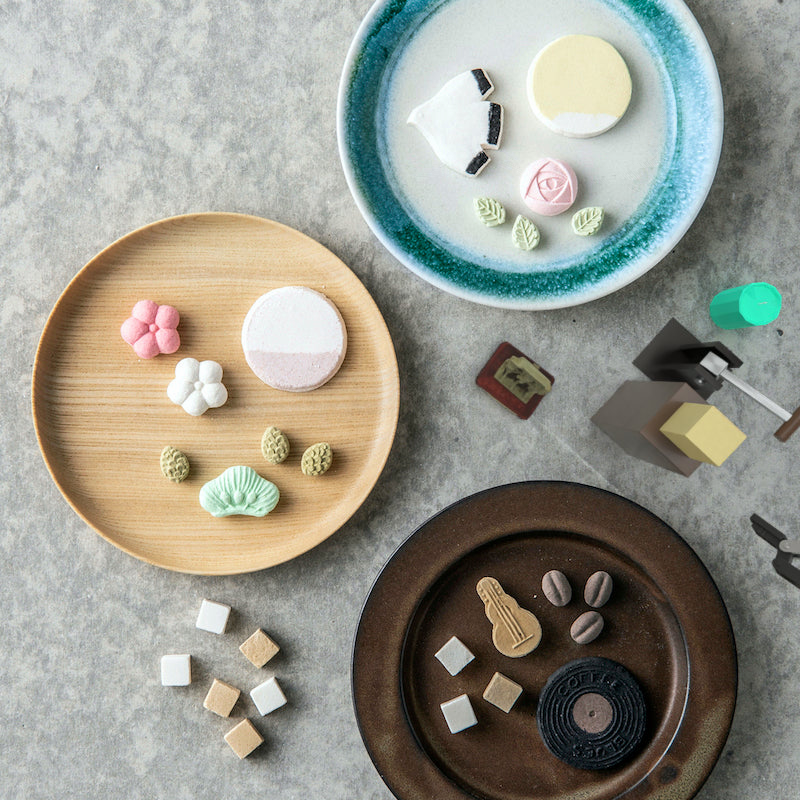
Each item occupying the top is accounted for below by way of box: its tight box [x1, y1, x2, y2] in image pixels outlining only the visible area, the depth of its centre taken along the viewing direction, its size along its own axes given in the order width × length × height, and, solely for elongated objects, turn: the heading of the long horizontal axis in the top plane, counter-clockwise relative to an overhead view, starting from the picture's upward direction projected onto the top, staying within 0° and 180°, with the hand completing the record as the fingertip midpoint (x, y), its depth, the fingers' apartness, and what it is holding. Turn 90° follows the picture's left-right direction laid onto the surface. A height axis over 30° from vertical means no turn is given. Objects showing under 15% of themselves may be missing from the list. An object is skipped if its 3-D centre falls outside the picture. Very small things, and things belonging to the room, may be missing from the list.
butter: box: [659, 402, 748, 467], centre depth 80 cm, size 5×4×8 cm
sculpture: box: [474, 341, 556, 421], centre depth 101 cm, size 10×8×15 cm
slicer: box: [631, 317, 745, 402], centre depth 101 cm, size 12×9×14 cm
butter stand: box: [590, 379, 711, 478], centre depth 96 cm, size 8×8×24 cm
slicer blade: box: [700, 351, 800, 444], centre depth 93 cm, size 14×6×2 cm, turn 48°
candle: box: [709, 281, 783, 331], centre depth 101 cm, size 6×6×12 cm
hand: (781, 487), depth 73 cm, fingers open, 8 cm apart
